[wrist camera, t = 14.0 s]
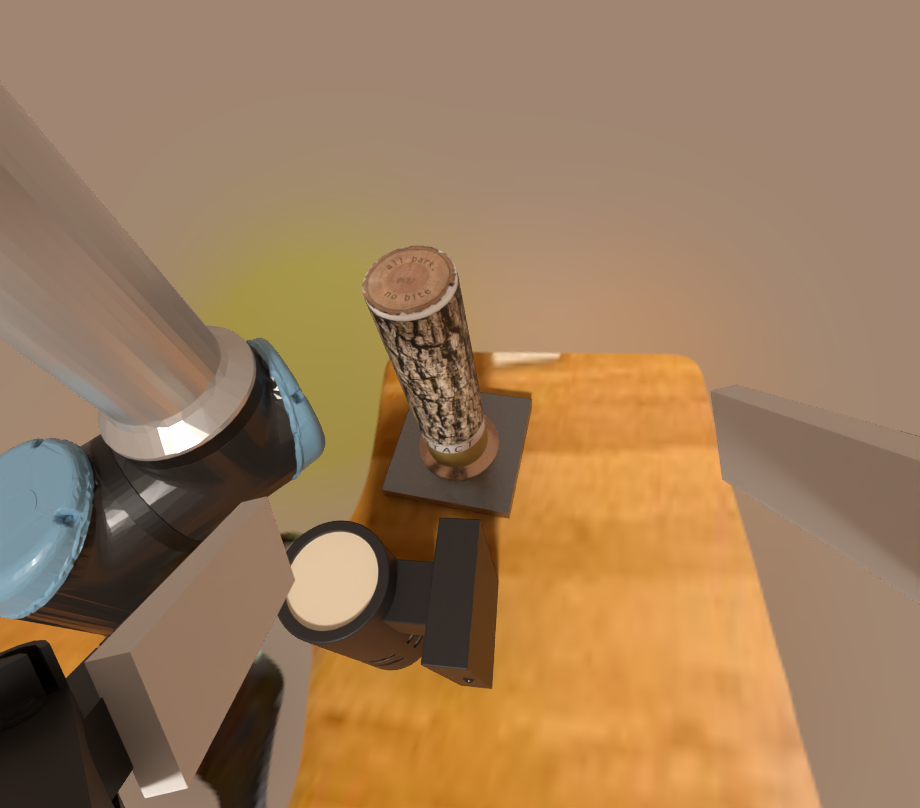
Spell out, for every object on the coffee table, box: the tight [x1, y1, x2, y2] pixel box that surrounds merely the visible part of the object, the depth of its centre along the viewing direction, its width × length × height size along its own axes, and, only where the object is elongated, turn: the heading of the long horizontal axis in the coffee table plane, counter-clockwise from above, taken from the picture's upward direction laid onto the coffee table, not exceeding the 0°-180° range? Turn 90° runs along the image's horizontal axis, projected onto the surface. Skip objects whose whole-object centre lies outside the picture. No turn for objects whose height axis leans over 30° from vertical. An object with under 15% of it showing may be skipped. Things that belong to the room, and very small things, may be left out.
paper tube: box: [362, 246, 488, 468], centre depth 46 cm, size 7×7×25 cm
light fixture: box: [278, 518, 498, 689], centre depth 41 cm, size 10×14×18 cm
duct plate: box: [382, 392, 532, 518], centre depth 57 cm, size 14×14×2 cm
